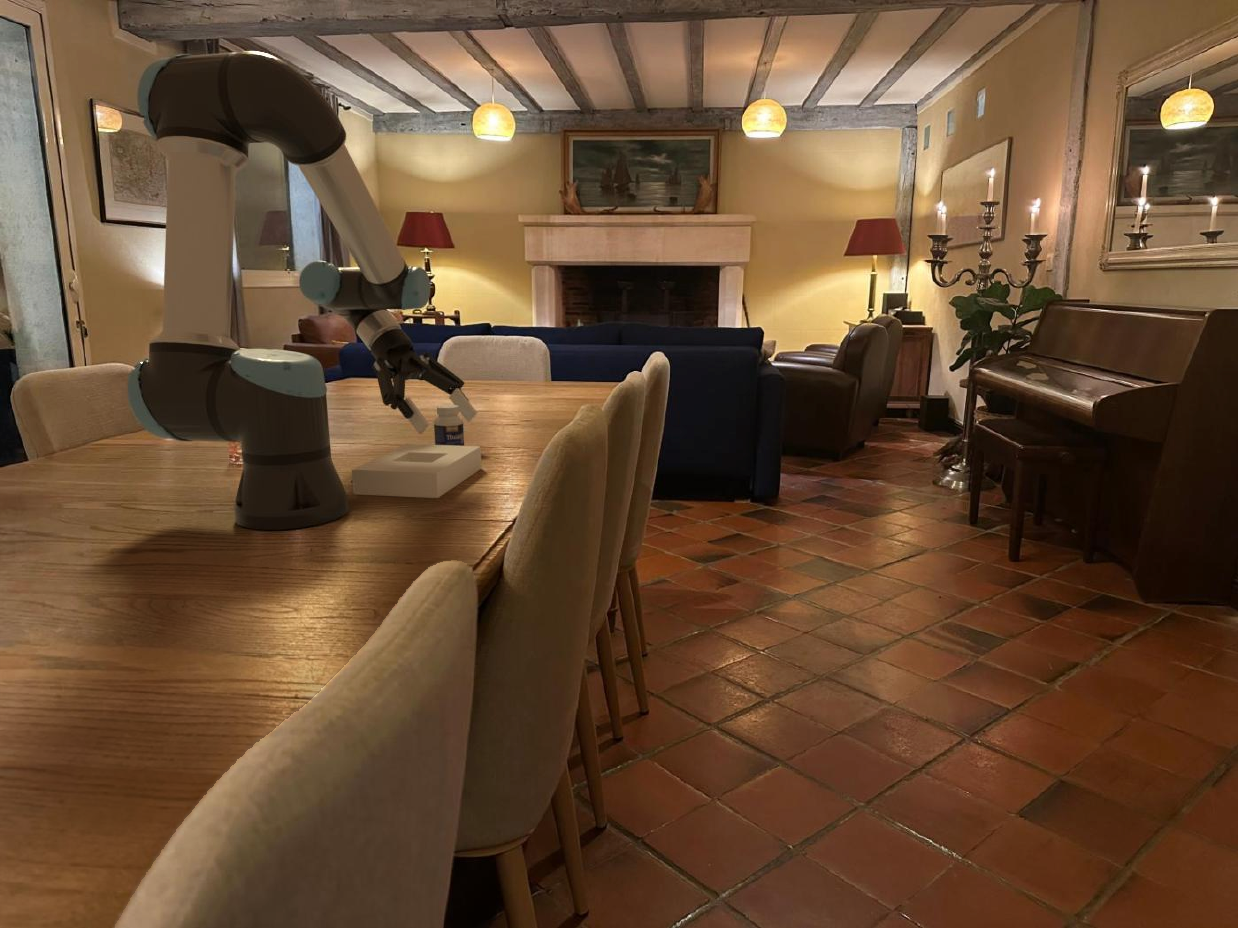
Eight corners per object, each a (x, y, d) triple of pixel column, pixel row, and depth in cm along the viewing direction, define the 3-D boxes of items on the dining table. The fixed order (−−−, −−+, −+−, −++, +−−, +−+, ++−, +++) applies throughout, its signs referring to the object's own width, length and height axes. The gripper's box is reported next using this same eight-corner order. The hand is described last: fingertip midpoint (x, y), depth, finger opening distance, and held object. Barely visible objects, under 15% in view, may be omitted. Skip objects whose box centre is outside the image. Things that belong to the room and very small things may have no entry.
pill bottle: (449, 461, 150) (446, 409, 148) (429, 457, 153) (426, 406, 151) (470, 456, 154) (468, 405, 152) (451, 452, 157) (449, 403, 155)
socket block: (353, 494, 128) (351, 469, 127) (407, 465, 147) (406, 443, 146) (437, 498, 125) (436, 472, 124) (481, 468, 144) (480, 446, 143)
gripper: (421, 348, 169) (481, 425, 165) (326, 359, 148) (391, 447, 144) (439, 323, 165) (501, 401, 162) (344, 330, 144) (412, 421, 141)
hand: (449, 423), depth 153 cm, fingers open, 13 cm apart
